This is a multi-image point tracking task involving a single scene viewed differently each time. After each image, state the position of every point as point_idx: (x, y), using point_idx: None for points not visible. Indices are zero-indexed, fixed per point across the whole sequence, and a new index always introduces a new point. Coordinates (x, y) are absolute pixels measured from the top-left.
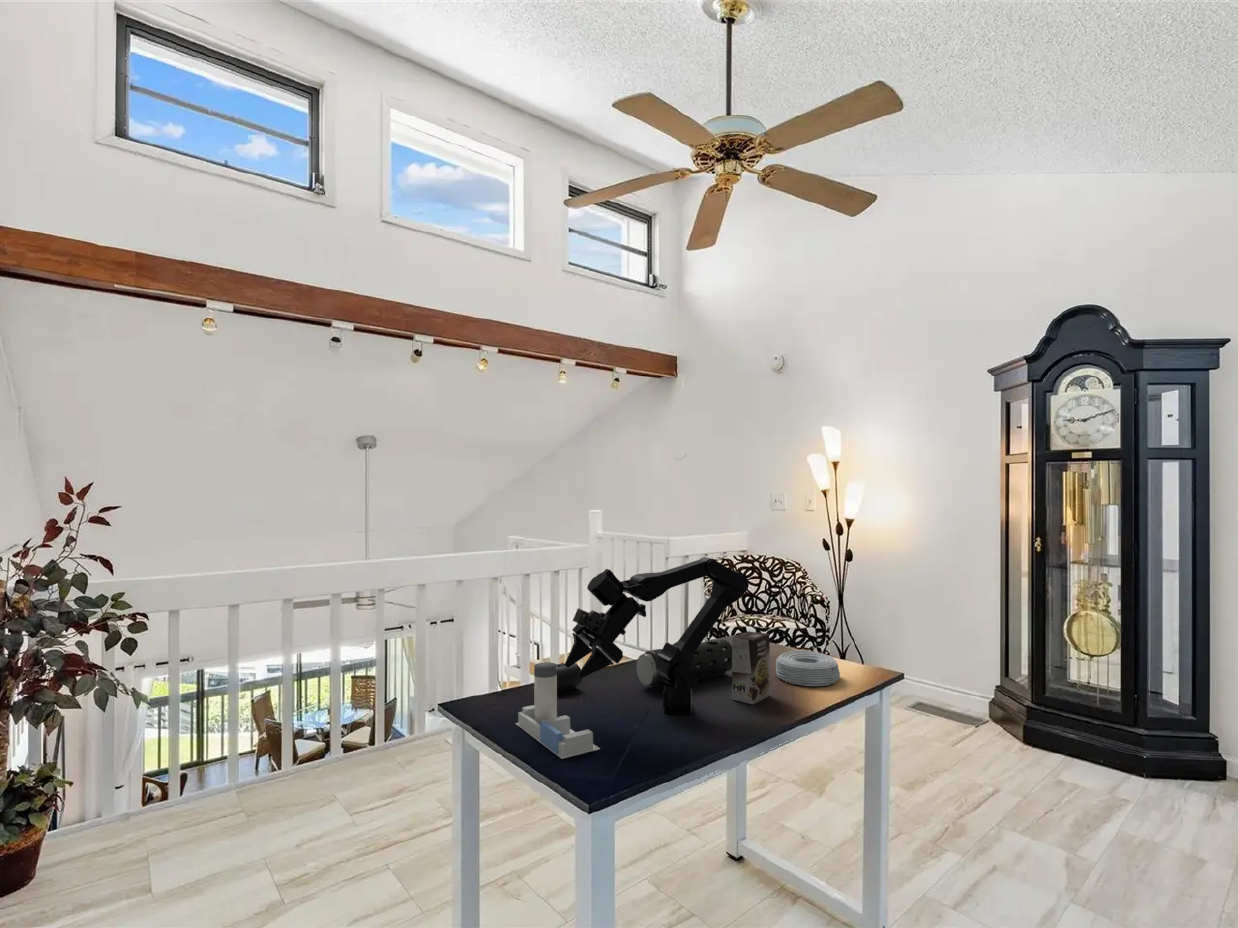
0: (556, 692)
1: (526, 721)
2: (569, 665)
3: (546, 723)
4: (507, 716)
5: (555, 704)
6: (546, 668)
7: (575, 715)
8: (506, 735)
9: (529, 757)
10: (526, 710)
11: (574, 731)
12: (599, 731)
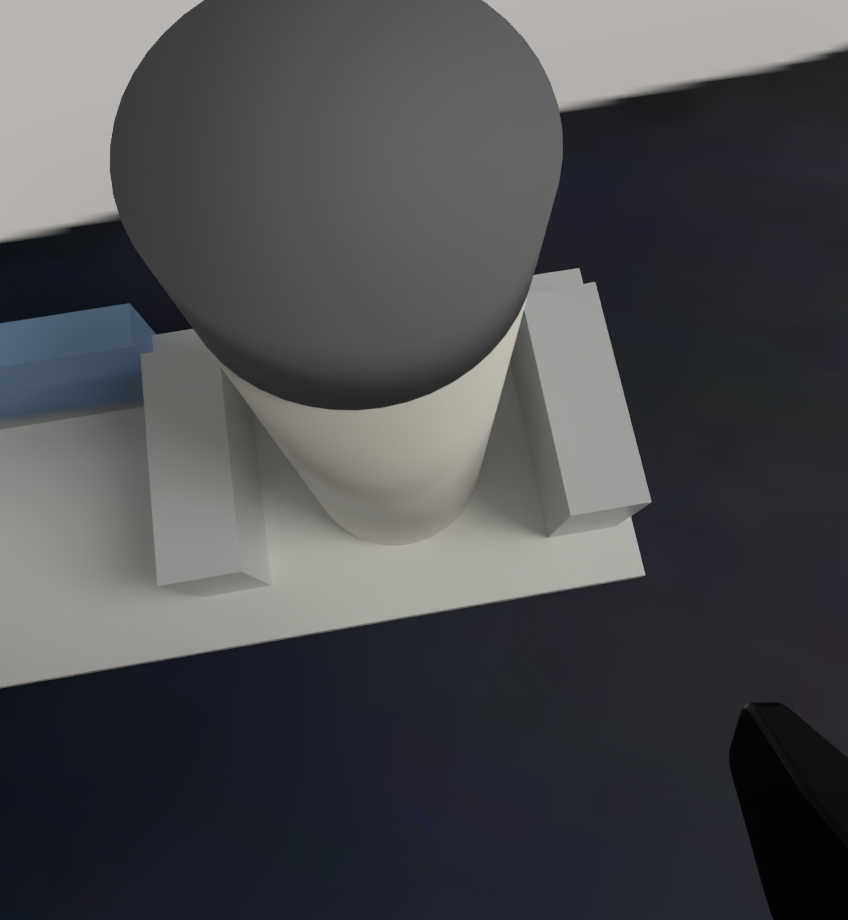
0: (305, 463)
1: None
2: (743, 804)
3: (74, 340)
4: (797, 300)
5: (300, 474)
6: (121, 104)
7: (657, 804)
8: None
9: (38, 268)
10: None
11: (234, 645)
12: (223, 870)
